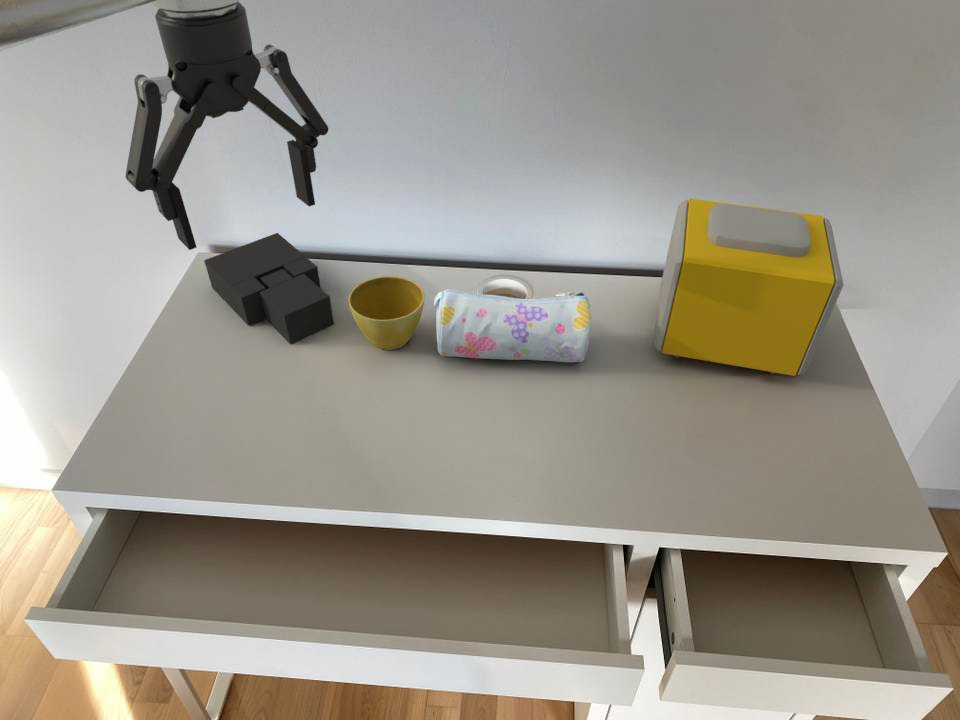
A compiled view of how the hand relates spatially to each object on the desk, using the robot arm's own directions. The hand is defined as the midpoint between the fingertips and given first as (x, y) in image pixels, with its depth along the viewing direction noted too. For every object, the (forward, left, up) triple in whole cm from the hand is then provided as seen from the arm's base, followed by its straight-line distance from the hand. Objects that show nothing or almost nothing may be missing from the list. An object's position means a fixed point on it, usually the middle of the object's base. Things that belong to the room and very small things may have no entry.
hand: (249, 221), depth 76 cm
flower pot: (+16, 0, -25) cm, 30 cm away
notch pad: (+8, +21, -25) cm, 33 cm away
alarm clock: (+52, -30, -25) cm, 65 cm away
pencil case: (+27, -13, -25) cm, 39 cm away
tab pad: (+8, +13, -25) cm, 29 cm away
